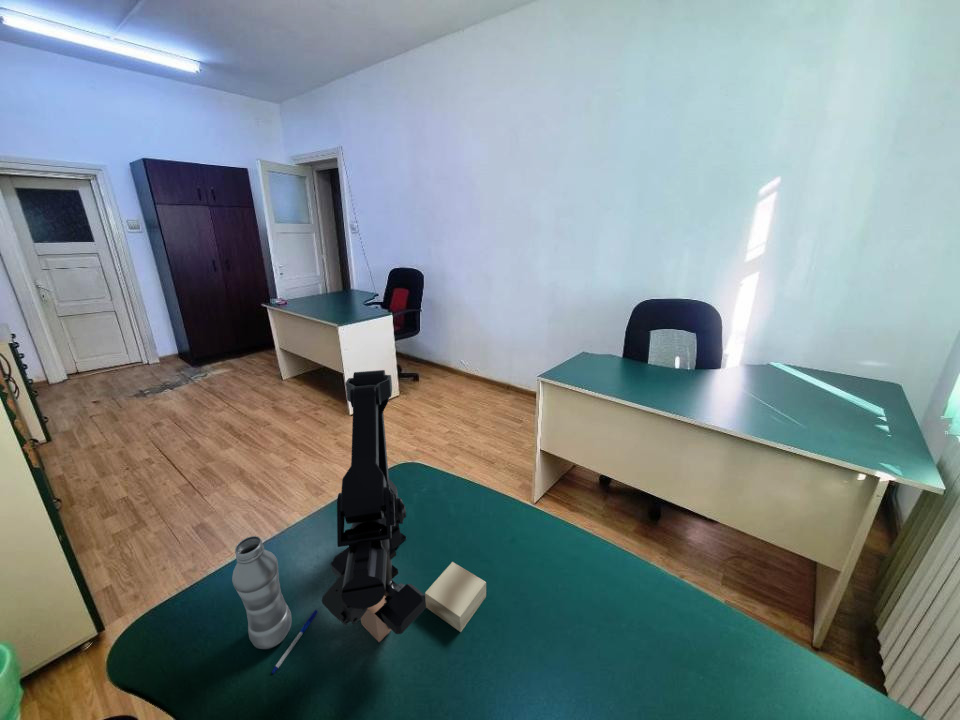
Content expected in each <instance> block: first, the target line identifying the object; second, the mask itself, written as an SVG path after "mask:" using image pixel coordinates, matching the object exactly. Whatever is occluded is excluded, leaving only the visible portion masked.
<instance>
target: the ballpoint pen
mask: <svg viewBox="0 0 960 720" xmlns="http://www.w3.org/2000/svg"><path fill="white" fill-rule="evenodd" d="M317 614H318V610H316V609H314V611H313V612H312V613H311V615H310V616H309V617H308V619H307V620H306V621H305V623H304V624H303V626H302V627H301V628H300V631H299V633H298V634H297V635H296V636H295V638H294V639H293V641H292V642H291V643H290V644H289V647H288V648H287V649H286V650H285V652H284V653H283V655H282V656H281V657H280V658H279V660H278V662H277V663H276V664H275V665H274V667H273V668H272V671H271V674H272V675H274V674H275V673H276V671H278V669H280V667H281V665H282V664H283V663H284V661H285V660H286V658H287V657H288V655H289V654H290V652H291V651H292V650H293V648H294V647H295V645H297V643H298V641H299V640H300V639H301V637H302V635H303V634H304V633H305V632H306V631H307V629H308V627H309V626H310V625H311V623H312V622H313V620H314V619H315V618H316V617H317Z"/></svg>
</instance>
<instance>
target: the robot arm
mask: <svg viewBox="0 0 960 720" xmlns="http://www.w3.org/2000/svg"><path fill="white" fill-rule="evenodd" d="M392 383H393V381H392V375H391V374H386V370H385V369H381V370H367V371H365V370H364V371H354V372H353V375H352V377H349V378H347V380H346V381H345V390H346V399H347V402H349V403H350V405H351V408H352V426H351V427H352V429H351V431H352V432H351V433H352V434H351V459H350V460H351V462H350V467H349V468H348V470H347V471H346V473H345V474H344V475H343V477H342V479H341V480H342V481H341V491H340V492H339V493H338V494H337V498H336V526H337V527H336V528H337V529H336V531H337V532H336V533H337V534H336V535H337V538H336V539H337V540H336V541H337V548H340V547H341V548H342V547H346V548H345V549H343V550H342V551H340V552H339V553H338V554H337V555H335V556H334V557H333V559H332V561H331V563H330V568H331V572H332V573H333V574H334V575H335V576H336V577H337V579H336V580H335V581H334V582H333V584H332V585H331V586H330V587H329V588H328V590H326V592H325V593H323V596H322V598H321V602H322V605H324V607H325V608H326V609H327V610H328V611H329V612H330V614H331V615H333V617H335V618H336V619H337V620H338V621H339V622H340V623H341V624H343V626H347V625H348V624H349V623H352V625H355V624H357V623H358V622H359V621H361V617H362V616H363V615H364V613H365V612H366V611H367V608H369V607H372V606H374V605H376V604H378V603H379V602H380V601H381V600H382V599H383V597H384V596H385V597H386V598H385V602H386V603H384V605H383V606H382V607H381V608H380V609H379V610H378V611H377V612H376V613H375V615H376V616H377V617H378V618H379V619H380V620H381V621H382V622H383V623H385V624H386V625H387V628H388V629H389V630H390V629H391V631H392V632H393V633H394V634H395V635H401V634H402V633H404V632H405V631H406V630H407V629H408V628H409V627H410V626H411V624H412V623H414V621H415V620H416V619H417V618H418V617H419V616H420V615H421V614H422V613H423V612H424V611H425V610H426V609H427V608H426V597H425V593H423V592H422V591H421V590H419V588H417V587H416V586H415V585H413V584H412V583H406V584H404V583H396V582H395V581H394V580H393V579H394V578H395V577H396V576H397V575H398V574H399V569H398V568H397V567H395V565H393V562H392V559H393V558H395V557H396V556H397V551H396V548H398V547H399V546H400V545H401V544H402V543H403V542H405V541H406V540H407V536H406V535H405V534H403V533H402V532H401V529H400V524H401V525H403V524H404V519H405V518H406V517H407V511H406V509H407V508H406V505H405V504H404V502H403V499H402V498H401V497H399V495H398V493H399V492H398V488H397V486H396V485H395V484H394V482H393V480H391V479H390V477H389V465H388V464H389V463H388V453H387V441H386V440H387V439H386V428H385V419H384V418H385V417H384V411H385V409H386V407H387V405H388V402H389V401H390V398H391V397H392V393H393V384H392ZM345 522H346V524H348V525H349V524H351V527H350V528H349V529H345ZM347 546H348V547H347Z"/></svg>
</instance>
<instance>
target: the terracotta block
mask: <svg viewBox="0 0 960 720" xmlns="http://www.w3.org/2000/svg"><path fill="white" fill-rule="evenodd" d="M385 598H386V597H385V596H384V597H383V599H382V600H381V601H380V602H379V603H378V604H376V605H374V606H372V607H369V608H367V611H366V612H365V613H364V615H363V616H362V617H361V618H360V622H361V626H363V628H365V629H366V631H367V632H369V633H370V635H371V636H372V637H373V638H374V639H375V640H376V641H377V642H378V643H380V642H381V641H382V640H383V639H384V638H385V637H386V636H388V634H389V633H390V632H391V631H392V630H391V629H390V630H389V629H388V628H387V625H386V624H385V623H383V622H382V621H381V620H380V619H379V618H378V617H377V616H376V615H375V613H376V612H377V611H378V610H379V609H380V608H381V607H382V606H383V605H384V603H386V602H385Z"/></svg>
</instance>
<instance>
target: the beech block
mask: <svg viewBox="0 0 960 720" xmlns="http://www.w3.org/2000/svg"><path fill="white" fill-rule="evenodd" d="M424 595H425V597H426V609H427V610H429V611H431V612H432V613H433V614H434V615H435V616H438V617H439V618H440V619H441V620H443V621H444V622H446V623H448V625H450V626H451V627H453V628H454V629H456V630H457V631H458V632H460V633H462V631H463V630H464V628H465V627H466V625H467V624H468V623H469V621H470V620H471V619H472V618H473V615H475V613H476V612H477V610H478V609H479V607H481V604H483V602H484V600H485V599H486V598H487V582H486V581H485V580H483V579H482V578H480V577H479V576H477V575H475V574H474V573H473V572H470V571H468V570H467V569H465V568H463V567H462V566H460V565H458V564H457V563H455V562H454V561H451V563H450V564H449V565H448V566H447V567H446V568H445V569H444V570H443V571H442V573H441V574H440V575H439V576H438V578H436V580H435V581H434V582H433V583H432V584H431V586H429V588H428V589H427V590H426V591H425V592H424Z"/></svg>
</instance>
